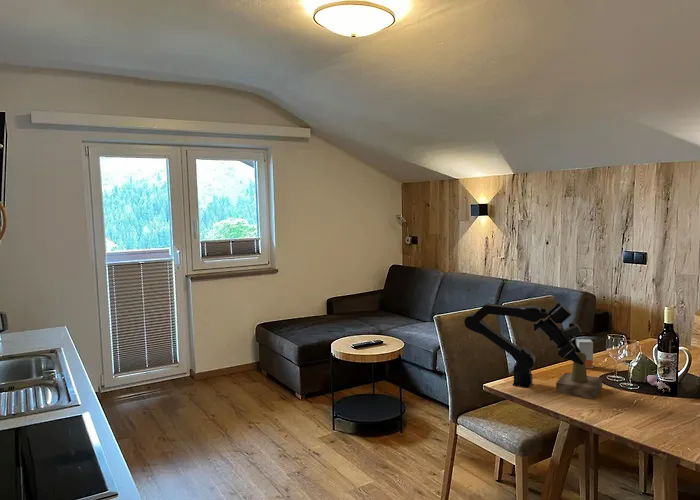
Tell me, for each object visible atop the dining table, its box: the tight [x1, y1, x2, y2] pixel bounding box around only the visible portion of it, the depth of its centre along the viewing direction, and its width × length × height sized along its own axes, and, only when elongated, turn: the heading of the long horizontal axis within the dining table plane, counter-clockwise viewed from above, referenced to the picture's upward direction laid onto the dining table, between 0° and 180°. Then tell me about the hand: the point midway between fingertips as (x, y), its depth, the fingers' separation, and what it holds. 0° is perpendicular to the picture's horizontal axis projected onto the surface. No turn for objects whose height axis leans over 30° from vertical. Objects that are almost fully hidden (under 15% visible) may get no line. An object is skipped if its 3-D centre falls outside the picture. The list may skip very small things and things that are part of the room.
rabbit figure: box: [646, 373, 671, 392], centre depth 204 cm, size 6×6×15 cm
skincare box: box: [576, 339, 594, 369], centre depth 230 cm, size 6×4×12 cm
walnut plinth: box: [555, 372, 603, 400], centre depth 203 cm, size 14×14×4 cm
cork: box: [571, 352, 588, 383], centre depth 202 cm, size 6×6×11 cm
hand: (583, 360), depth 201 cm, fingers open, 9 cm apart
